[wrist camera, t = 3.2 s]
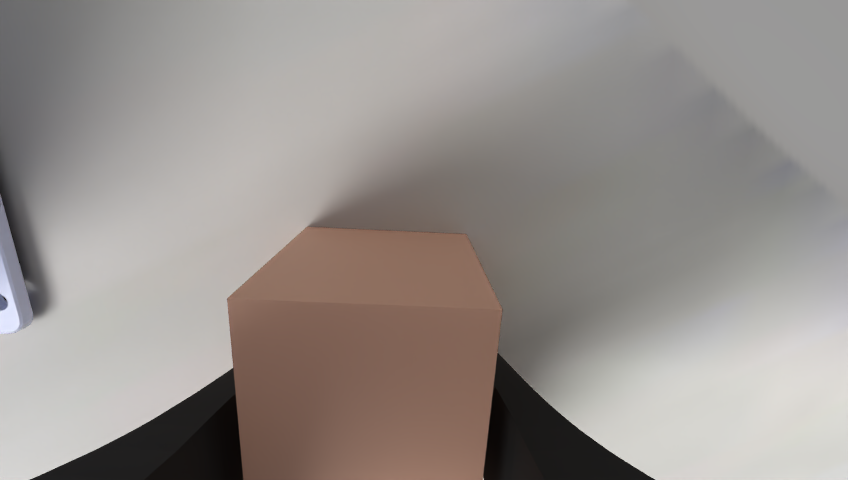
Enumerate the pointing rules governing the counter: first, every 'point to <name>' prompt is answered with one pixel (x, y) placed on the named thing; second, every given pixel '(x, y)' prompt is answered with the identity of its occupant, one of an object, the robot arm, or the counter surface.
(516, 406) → the robot arm
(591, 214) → the counter surface
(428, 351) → the block
